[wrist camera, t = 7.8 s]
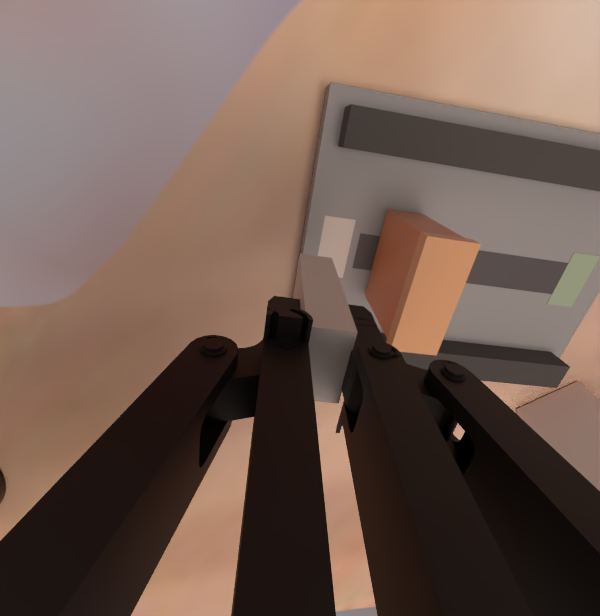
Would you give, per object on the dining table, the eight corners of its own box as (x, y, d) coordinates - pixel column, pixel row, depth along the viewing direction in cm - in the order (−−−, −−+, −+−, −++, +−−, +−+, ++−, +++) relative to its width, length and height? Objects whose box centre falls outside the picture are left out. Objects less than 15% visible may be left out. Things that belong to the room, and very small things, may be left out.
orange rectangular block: (363, 296, 24) (390, 350, 18) (386, 207, 21) (427, 236, 15) (398, 300, 24) (436, 355, 18) (425, 213, 22) (481, 244, 16)
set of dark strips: (300, 346, 26) (302, 362, 24) (345, 107, 19) (351, 104, 17) (539, 371, 28) (557, 387, 27) (659, 164, 21) (693, 167, 19)
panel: (285, 342, 28) (285, 356, 26) (326, 86, 20) (331, 82, 18) (529, 367, 31) (545, 382, 29) (652, 148, 23) (684, 150, 21)
